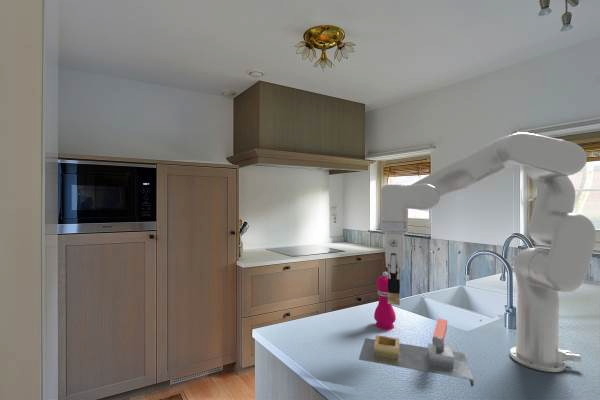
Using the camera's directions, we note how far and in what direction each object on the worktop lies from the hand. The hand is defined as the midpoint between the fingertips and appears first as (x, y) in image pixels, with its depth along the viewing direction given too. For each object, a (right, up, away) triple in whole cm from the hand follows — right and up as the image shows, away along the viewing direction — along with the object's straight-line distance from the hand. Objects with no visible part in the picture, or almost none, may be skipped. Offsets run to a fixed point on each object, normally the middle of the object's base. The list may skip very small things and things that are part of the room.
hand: (394, 290), depth 92 cm
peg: (0, -4, 0) cm, 4 cm away
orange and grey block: (+11, -15, -6) cm, 19 cm away
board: (+4, -19, -3) cm, 20 cm away
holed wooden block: (-2, -18, 0) cm, 18 cm away
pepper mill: (+2, -19, +18) cm, 26 cm away
